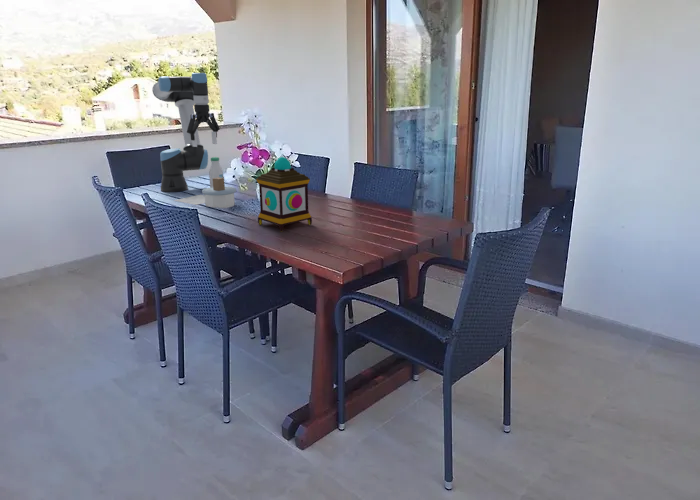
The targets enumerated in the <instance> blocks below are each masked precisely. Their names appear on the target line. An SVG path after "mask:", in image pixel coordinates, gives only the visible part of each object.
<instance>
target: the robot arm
mask: <svg viewBox="0 0 700 500" xmlns="http://www.w3.org/2000/svg"><path fill="white" fill-rule="evenodd" d="M152 94H153V96H154V97H155V98H156V99H158V100H159V101H162V102H166V103H174V105H175V107H177V109H178V113H179V117H180V118H179V119H180V124H181V129H182V136H183V140H184V146H183V147H182V149H181V148H170V149H166V150H162V151H161V152H160V153H159V154H160V159H159V160H160V166H161V173H162V174H161V176H162V178H161V181H160V182H161V183H160V191H162V192H165V193H166V192H169V193H172V192H173V193H174V192H181V191H182V192H183V191H186V190H188V189H189V187H188V183H187V181H186V179H185V176H184V172H186V171H200V170H201V171H202V170H205V169H207V168H208V163H209V152H208V150H207V149H206V148H205V147H204V145H203V144H202V143H201V141H200V137H199V131H198V128H199V126H200V124H203V123H206V124H207V126H208V127H209V128H210V129H211V144H212V145H217V144H218V143H217V142H218V140H217V138H218V132H219V131H220V126H219V124H218V121H217V120H216V118H215V113H214V112H210V104H209V103H210V102H209V101H210V100H209V88H208V77H207V73H205V72H192V73H191V76H167V75H164V76H159V77H158V81H157V82H155V83H154V84H153V86H152Z"/></svg>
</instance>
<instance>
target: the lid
mask: <svg viewBox="0 0 700 500" xmlns="http://www.w3.org/2000/svg"><path fill="white" fill-rule="evenodd" d="M236 192H237V188H236V187H233V186H225V177H223V178H220V177H217V178H213V187H211V188H210V187H206V188H204V189H201V193H202V195H228V194H232V193H234V194H235V193H236Z"/></svg>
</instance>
